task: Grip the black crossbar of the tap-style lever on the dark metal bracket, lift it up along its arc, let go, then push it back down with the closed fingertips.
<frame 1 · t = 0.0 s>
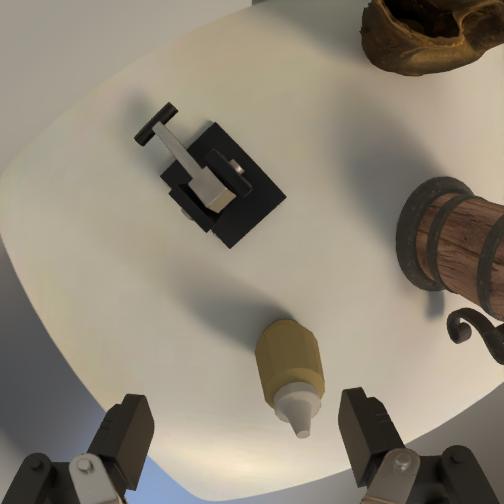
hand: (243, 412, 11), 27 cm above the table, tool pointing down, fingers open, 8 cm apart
lever: (182, 155, 26), point 9 cm above the table, hinge at -25.0°
bracket: (223, 185, 36), on the table
squeeze bottle: (283, 336, 41), on the table
tankard: (444, 257, 38), on the table
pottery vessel: (403, 47, 31), on the table
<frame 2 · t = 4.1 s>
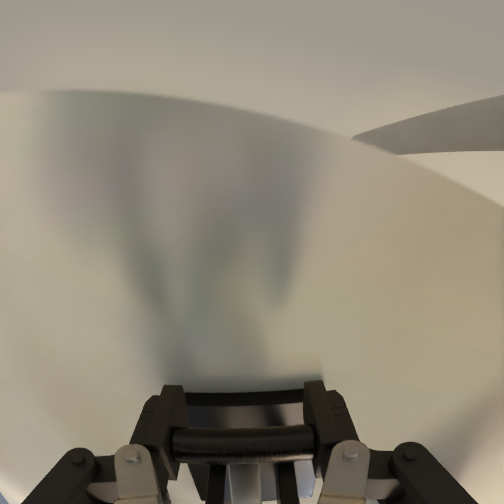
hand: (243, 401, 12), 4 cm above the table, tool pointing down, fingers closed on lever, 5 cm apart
bracket: (252, 452, 18), on the table
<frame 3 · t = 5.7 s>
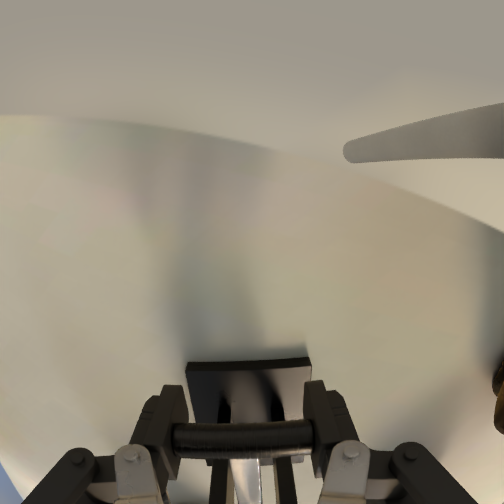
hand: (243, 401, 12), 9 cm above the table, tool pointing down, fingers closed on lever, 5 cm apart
lever: (250, 500, 11), point 11 cm above the table, hinge at 2.2°, touching gripper
bracket: (251, 416, 23), on the table
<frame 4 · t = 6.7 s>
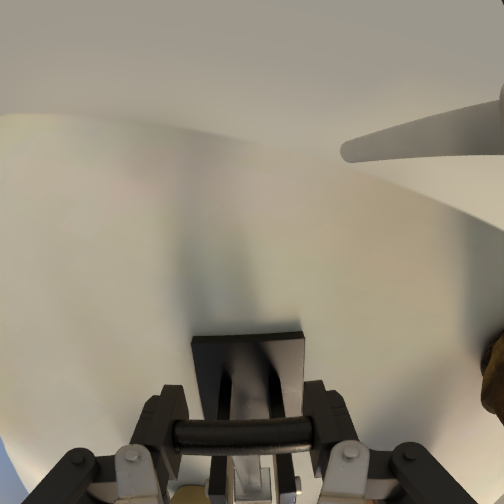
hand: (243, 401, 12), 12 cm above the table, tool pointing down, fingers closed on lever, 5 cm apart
lever: (250, 472, 13), point 13 cm above the table, hinge at 19.4°, touching gripper
bracket: (251, 390, 26), on the table
squeeze bottle: (198, 493, 31), on the table
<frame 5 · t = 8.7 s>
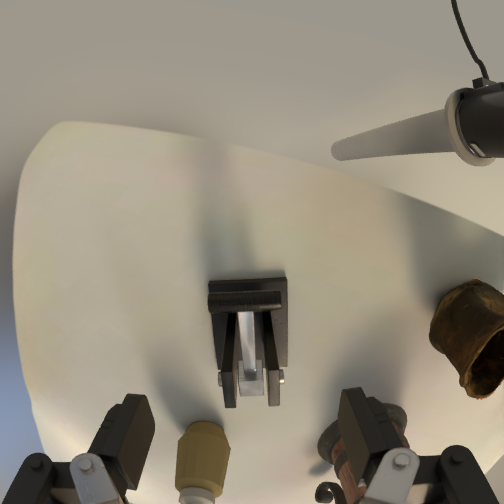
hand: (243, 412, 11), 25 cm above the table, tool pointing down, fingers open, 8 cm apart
lever: (248, 348, 24), point 13 cm above the table, hinge at 20.0°
bracket: (250, 324, 37), on the table
squeeze bottle: (206, 431, 43), on the table
tankard: (352, 447, 45), on the table
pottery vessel: (460, 308, 38), on the table
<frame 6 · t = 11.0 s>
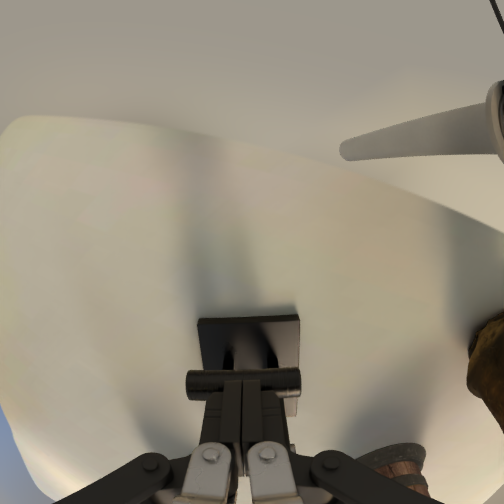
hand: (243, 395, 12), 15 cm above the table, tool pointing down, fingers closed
lever: (249, 431, 16), point 12 cm above the table, hinge at 18.1°, touching gripper
bracket: (251, 369, 29), on the table
tankard: (364, 485, 36), on the table
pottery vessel: (494, 338, 29), on the table
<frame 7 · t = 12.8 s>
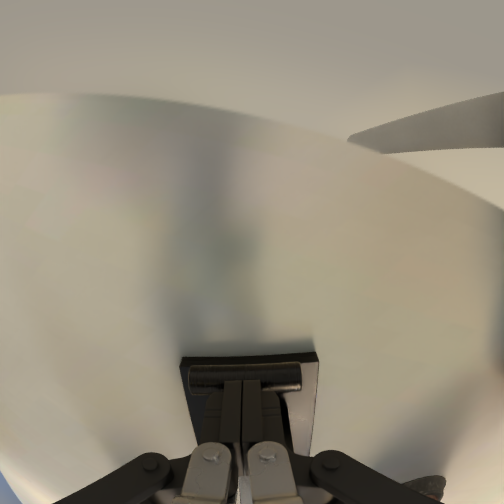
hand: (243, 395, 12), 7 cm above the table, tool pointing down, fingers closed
lever: (250, 479, 12), point 9 cm above the table, hinge at -29.7°, touching gripper
bracket: (252, 417, 21), on the table
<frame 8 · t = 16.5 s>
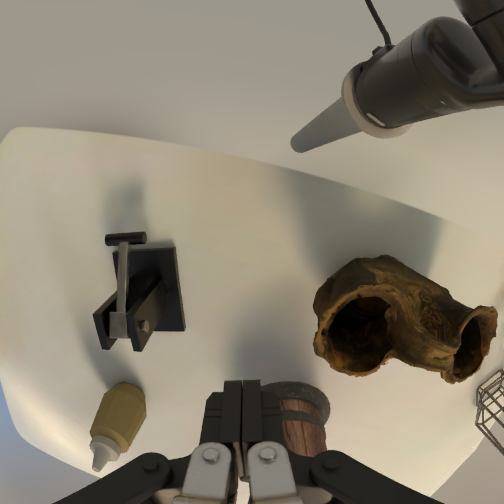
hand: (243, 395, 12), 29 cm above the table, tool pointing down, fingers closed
lever: (123, 284, 32), point 9 cm above the table, hinge at -29.8°
bracket: (150, 290, 42), on the table
squeeze bottle: (130, 394, 47), on the table
tankard: (273, 427, 49), on the table
geometric lantern: (488, 385, 49), on the table
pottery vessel: (371, 286, 42), on the table
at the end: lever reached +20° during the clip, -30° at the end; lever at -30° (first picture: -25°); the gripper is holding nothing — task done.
